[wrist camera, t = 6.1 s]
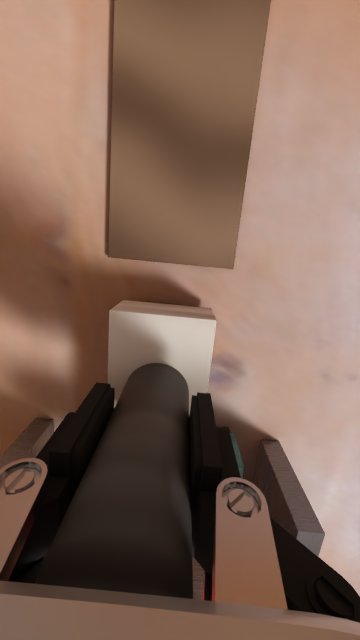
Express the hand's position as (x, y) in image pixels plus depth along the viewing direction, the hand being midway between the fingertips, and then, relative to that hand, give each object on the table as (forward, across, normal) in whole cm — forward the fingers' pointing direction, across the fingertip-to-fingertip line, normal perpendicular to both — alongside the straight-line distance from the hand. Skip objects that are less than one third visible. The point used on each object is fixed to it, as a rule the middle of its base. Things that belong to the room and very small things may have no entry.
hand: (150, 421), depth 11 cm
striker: (+6, 0, 0) cm, 6 cm away
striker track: (+6, 0, -13) cm, 14 cm away
